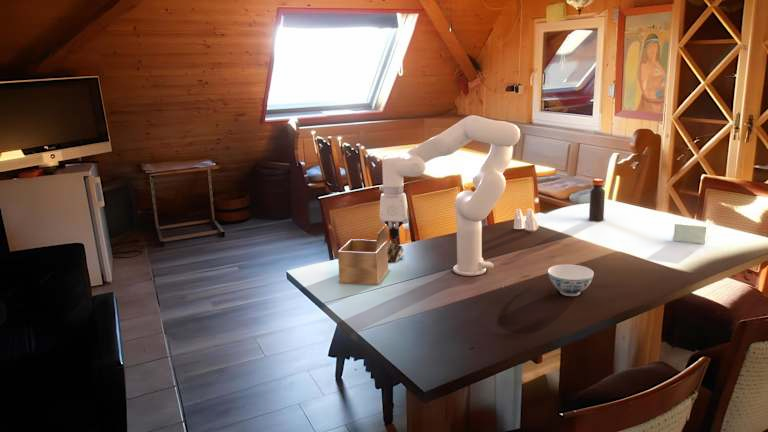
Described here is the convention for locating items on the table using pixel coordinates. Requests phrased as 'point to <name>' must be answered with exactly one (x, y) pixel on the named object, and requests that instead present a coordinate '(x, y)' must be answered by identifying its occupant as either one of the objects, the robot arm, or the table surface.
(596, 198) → the bottle
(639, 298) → the table surface
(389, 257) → the chocolate cake
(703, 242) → the l-shaped corner panel
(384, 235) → the flap
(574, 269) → the chinaware
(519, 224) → the shaker set
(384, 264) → the carton
